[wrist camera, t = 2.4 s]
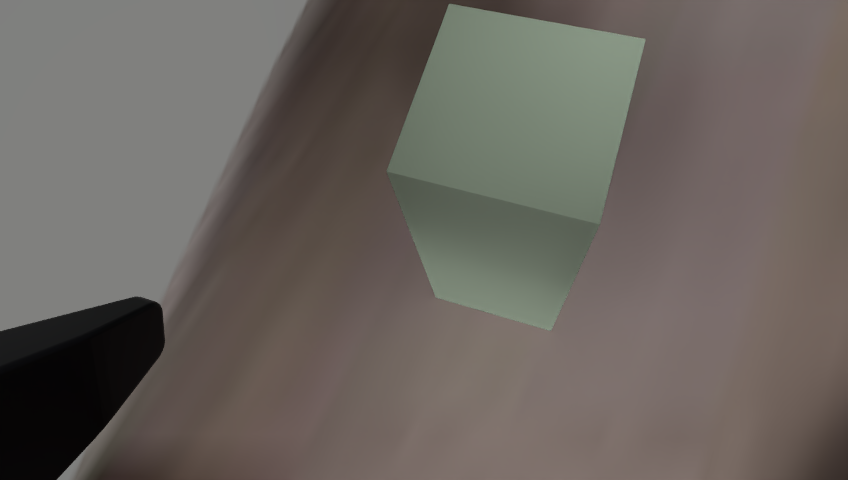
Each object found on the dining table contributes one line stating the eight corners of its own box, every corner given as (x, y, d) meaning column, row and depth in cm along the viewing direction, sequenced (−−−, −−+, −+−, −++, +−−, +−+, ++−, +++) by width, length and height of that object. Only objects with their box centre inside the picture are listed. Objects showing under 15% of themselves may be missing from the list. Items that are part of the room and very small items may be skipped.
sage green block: (550, 331, 22) (600, 224, 12) (435, 297, 23) (386, 171, 12) (579, 221, 23) (645, 38, 13) (469, 194, 24) (449, 3, 14)
